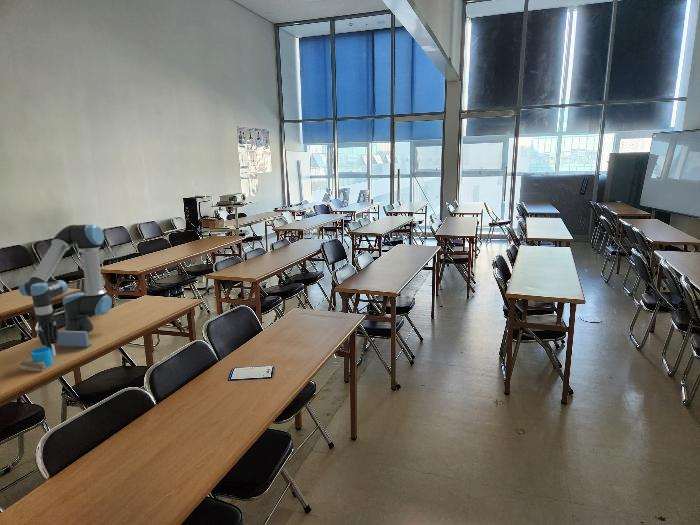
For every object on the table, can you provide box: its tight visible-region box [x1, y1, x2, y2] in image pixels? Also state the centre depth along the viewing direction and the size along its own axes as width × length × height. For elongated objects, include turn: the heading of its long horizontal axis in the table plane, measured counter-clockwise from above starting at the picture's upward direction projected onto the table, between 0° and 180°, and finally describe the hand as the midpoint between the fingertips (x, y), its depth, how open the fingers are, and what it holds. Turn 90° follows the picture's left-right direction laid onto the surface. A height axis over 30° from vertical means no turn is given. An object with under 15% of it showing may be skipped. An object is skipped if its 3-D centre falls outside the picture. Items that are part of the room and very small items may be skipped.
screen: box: [56, 330, 93, 349], centre depth 250 cm, size 4×18×9 cm, turn 82°
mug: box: [30, 346, 54, 368], centre depth 229 cm, size 12×8×8 cm
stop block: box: [19, 360, 47, 372], centre depth 223 cm, size 2×12×4 cm, turn 82°
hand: (52, 355), depth 235 cm, fingers closed
